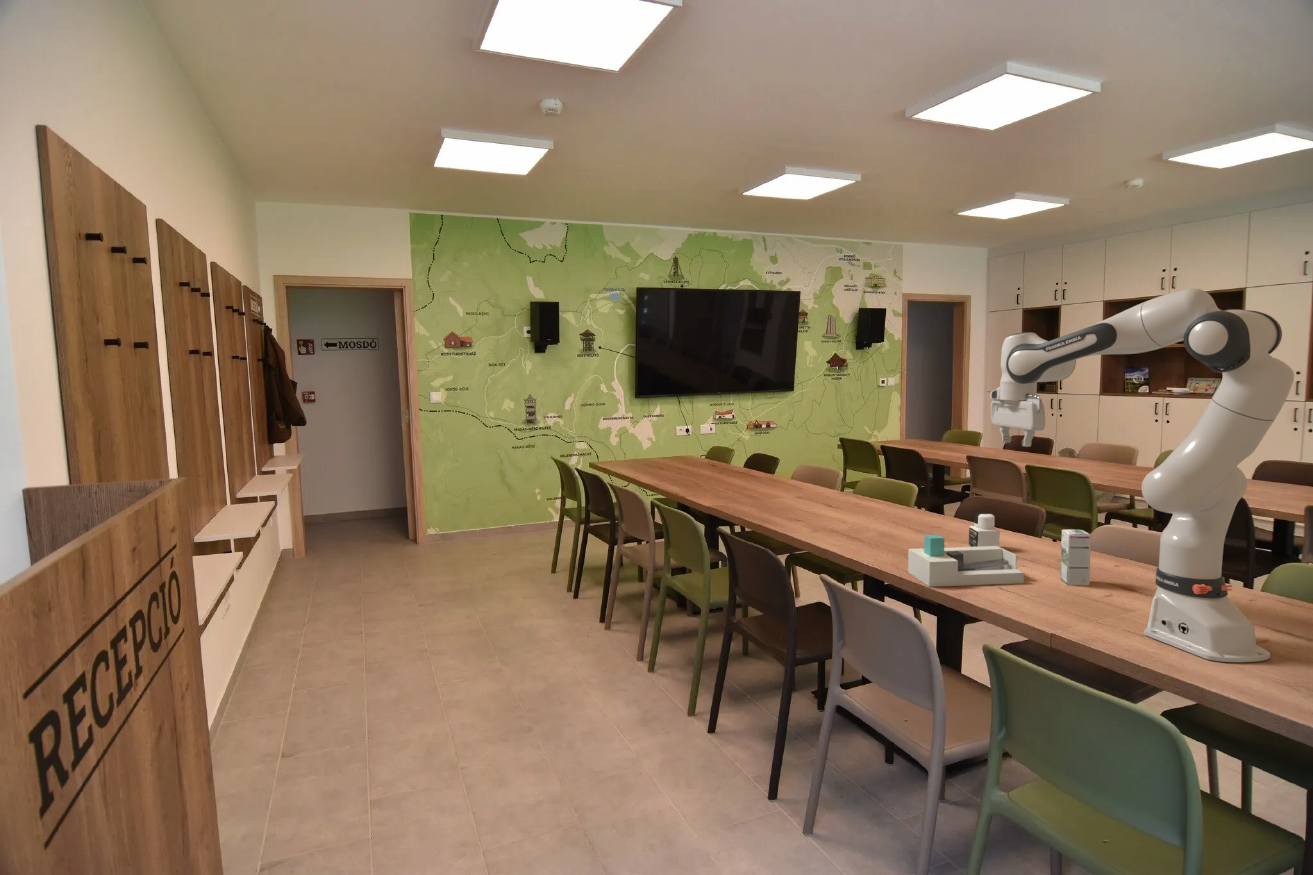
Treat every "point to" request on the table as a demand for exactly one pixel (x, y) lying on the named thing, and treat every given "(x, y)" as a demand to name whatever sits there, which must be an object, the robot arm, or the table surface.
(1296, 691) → the table surface
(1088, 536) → the syrup box
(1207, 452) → the robot arm
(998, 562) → the ejector lever
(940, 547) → the teal block
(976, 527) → the medicine bottle
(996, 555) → the pocket board
